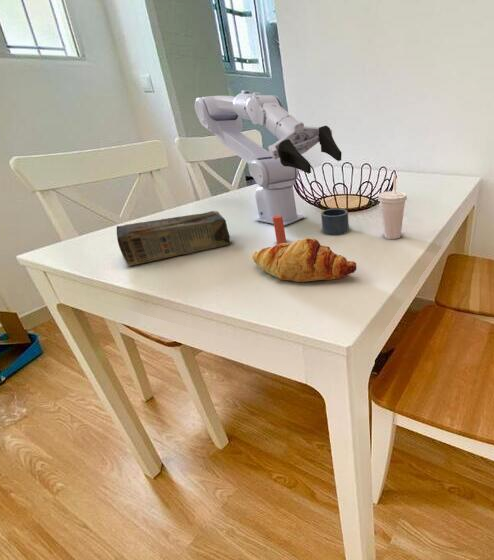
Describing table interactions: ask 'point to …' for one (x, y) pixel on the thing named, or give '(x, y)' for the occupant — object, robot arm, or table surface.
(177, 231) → the coffee bag
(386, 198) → the smoothie
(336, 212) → the cup
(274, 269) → the croissant
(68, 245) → the table surface
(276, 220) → the red rectangular block
